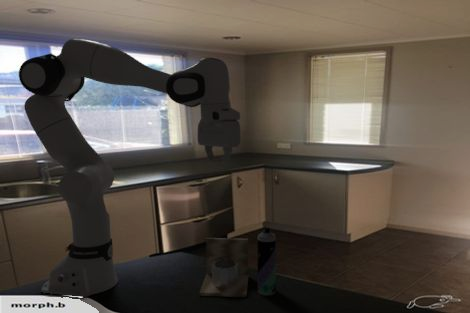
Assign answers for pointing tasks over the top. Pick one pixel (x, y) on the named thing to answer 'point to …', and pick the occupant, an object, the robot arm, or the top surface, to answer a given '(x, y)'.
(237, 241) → the brown l-shaped piece
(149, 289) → the top surface
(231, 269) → the ring
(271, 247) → the spray can
